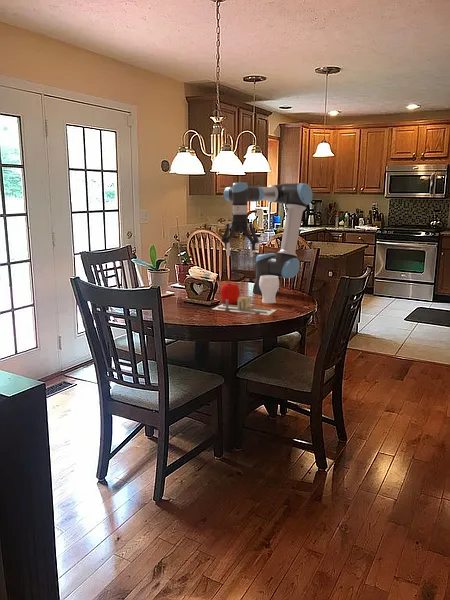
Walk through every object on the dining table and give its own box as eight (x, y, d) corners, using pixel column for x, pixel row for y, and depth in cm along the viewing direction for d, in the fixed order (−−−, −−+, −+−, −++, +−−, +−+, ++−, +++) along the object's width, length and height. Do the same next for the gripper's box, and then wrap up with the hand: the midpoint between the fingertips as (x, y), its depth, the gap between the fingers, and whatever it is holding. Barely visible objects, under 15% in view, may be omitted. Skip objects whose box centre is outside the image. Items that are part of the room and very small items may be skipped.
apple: (234, 302, 273) (234, 280, 271) (242, 306, 264) (243, 283, 262) (217, 304, 269) (217, 281, 266) (225, 308, 260) (225, 284, 258)
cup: (277, 307, 262) (278, 278, 259) (257, 306, 264) (257, 277, 261) (279, 302, 272) (280, 275, 269) (260, 302, 274) (260, 274, 271)
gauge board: (221, 307, 262) (221, 294, 261) (276, 312, 250) (277, 299, 249) (211, 312, 251) (211, 298, 250) (268, 318, 239) (268, 304, 238)
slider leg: (241, 307, 254) (241, 296, 252) (250, 308, 252) (250, 297, 250) (235, 311, 247) (235, 299, 245) (244, 312, 245) (244, 300, 243)
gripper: (214, 213, 256) (215, 256, 260) (260, 214, 246) (259, 258, 251) (220, 213, 262) (221, 254, 267) (265, 213, 253) (264, 256, 257)
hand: (239, 256), depth 259 cm, fingers open, 12 cm apart
